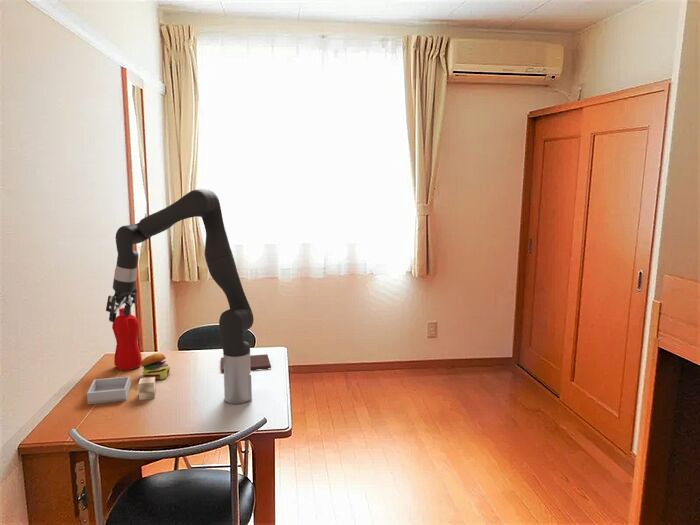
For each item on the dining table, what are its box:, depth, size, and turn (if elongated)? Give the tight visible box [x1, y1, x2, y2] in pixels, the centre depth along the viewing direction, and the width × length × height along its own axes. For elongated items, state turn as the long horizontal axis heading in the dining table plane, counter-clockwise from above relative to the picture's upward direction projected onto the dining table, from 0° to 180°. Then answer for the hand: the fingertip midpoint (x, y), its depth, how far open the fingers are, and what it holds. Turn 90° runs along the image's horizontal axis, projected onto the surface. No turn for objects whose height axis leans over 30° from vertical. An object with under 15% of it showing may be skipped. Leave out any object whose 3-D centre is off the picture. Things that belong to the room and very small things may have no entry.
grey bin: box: [86, 376, 132, 405], centre depth 183 cm, size 12×12×4 cm
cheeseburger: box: [140, 353, 171, 380], centre depth 201 cm, size 10×11×10 cm
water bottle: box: [111, 307, 143, 371], centre depth 208 cm, size 9×11×25 cm
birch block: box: [138, 377, 157, 401], centre depth 183 cm, size 5×5×6 cm
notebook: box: [220, 353, 272, 374], centre depth 214 cm, size 15×20×2 cm
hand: (119, 318), depth 192 cm, fingers open, 8 cm apart
